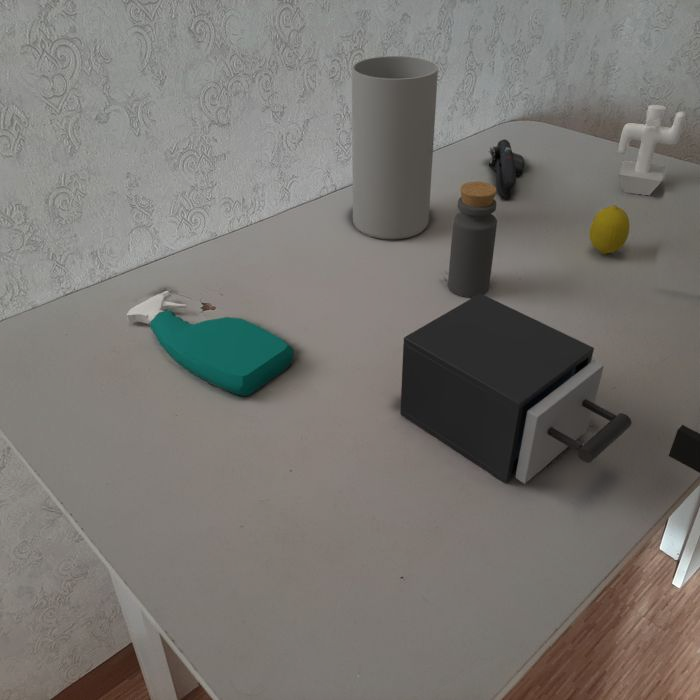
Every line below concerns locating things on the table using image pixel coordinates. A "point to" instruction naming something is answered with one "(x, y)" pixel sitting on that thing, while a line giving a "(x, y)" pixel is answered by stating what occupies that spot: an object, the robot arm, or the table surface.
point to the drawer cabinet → (483, 378)
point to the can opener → (506, 167)
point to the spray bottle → (216, 346)
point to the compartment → (565, 422)
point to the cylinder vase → (392, 144)
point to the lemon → (609, 229)
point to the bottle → (473, 240)
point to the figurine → (647, 150)
